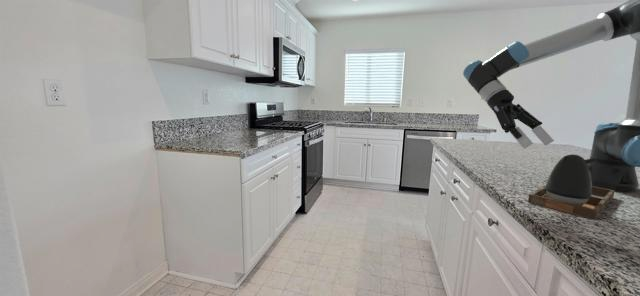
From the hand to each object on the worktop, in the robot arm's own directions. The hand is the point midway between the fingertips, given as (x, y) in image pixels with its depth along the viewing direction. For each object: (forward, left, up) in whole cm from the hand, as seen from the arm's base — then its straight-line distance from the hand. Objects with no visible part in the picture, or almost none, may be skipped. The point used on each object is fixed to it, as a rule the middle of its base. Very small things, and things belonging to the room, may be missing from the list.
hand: (539, 144), depth 85 cm
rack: (-6, +9, -17) cm, 20 cm away
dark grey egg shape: (+1, +9, -17) cm, 19 cm away
